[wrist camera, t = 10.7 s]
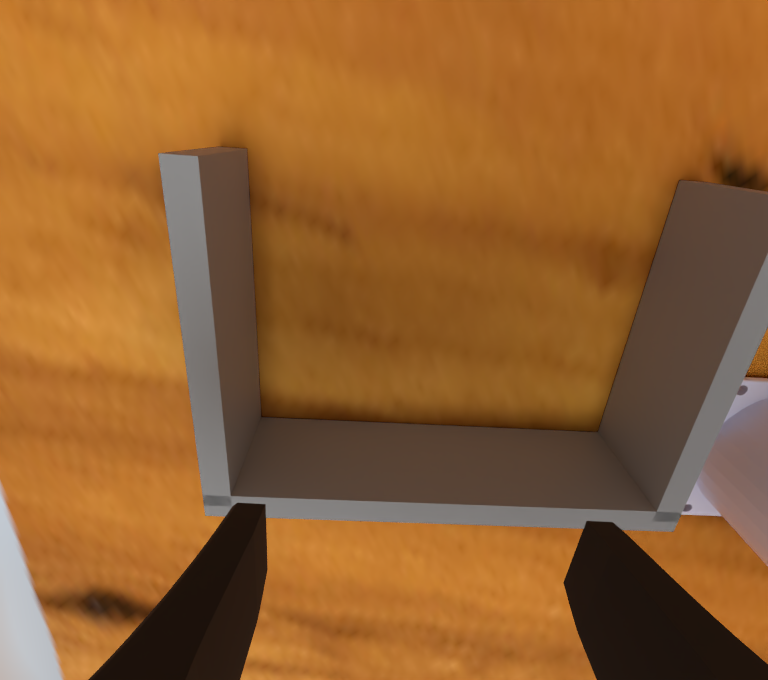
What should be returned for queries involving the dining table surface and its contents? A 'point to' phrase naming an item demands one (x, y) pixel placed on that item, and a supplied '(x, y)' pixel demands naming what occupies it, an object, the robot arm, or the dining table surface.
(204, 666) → the robot arm
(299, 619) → the dining table surface
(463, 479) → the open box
